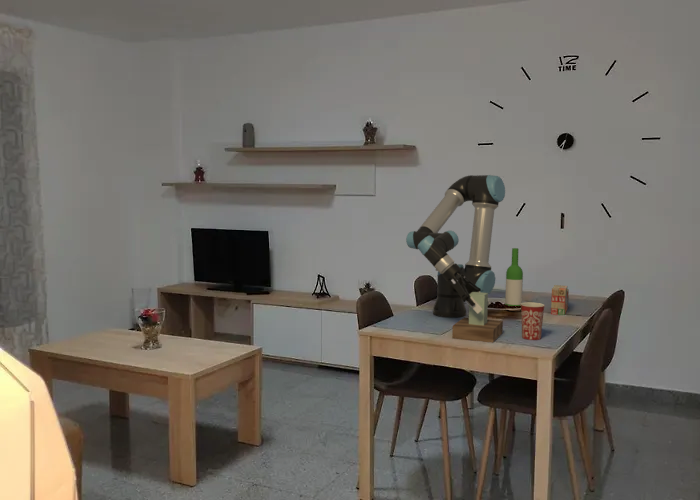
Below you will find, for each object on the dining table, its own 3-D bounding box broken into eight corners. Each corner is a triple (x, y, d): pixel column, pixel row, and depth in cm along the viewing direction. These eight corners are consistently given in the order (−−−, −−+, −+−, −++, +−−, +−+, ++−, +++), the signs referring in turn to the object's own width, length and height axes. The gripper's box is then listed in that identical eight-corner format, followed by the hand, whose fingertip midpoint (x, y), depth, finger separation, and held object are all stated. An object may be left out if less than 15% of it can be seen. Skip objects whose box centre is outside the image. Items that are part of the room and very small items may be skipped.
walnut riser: (463, 329, 273) (464, 317, 273) (502, 333, 267) (502, 320, 266) (452, 338, 257) (452, 325, 256) (493, 342, 250) (493, 329, 250)
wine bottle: (501, 310, 314) (503, 248, 311) (511, 308, 319) (513, 247, 316) (515, 313, 308) (517, 249, 305) (524, 311, 313) (527, 248, 310)
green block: (472, 321, 265) (473, 291, 264) (487, 322, 263) (487, 292, 262) (468, 324, 260) (469, 294, 259) (483, 325, 258) (484, 295, 256)
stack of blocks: (555, 306, 326) (556, 282, 325) (568, 307, 324) (569, 283, 322) (550, 314, 306) (551, 288, 305) (564, 315, 304) (565, 289, 303)
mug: (542, 341, 253) (544, 307, 251) (518, 339, 256) (519, 305, 254) (544, 334, 264) (546, 301, 263) (521, 332, 268) (522, 300, 266)
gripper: (450, 271, 277) (484, 309, 273) (432, 278, 254) (469, 320, 250) (462, 259, 274) (497, 297, 270) (446, 265, 252) (484, 307, 247)
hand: (484, 308), depth 260 cm, fingers open, 13 cm apart
